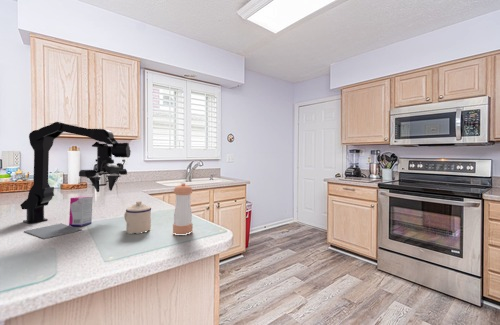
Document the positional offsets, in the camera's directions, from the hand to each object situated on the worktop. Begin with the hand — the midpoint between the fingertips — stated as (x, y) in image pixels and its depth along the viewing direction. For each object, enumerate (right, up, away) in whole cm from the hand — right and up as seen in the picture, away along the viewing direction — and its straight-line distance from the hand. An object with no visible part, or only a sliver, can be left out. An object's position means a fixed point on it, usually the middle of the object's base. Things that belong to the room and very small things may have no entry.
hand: (104, 191), depth 108 cm
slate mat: (-9, -13, -17) cm, 23 cm away
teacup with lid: (+21, -14, -14) cm, 29 cm away
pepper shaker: (+41, -14, -17) cm, 46 cm away
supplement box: (-5, -13, -9) cm, 16 cm away
